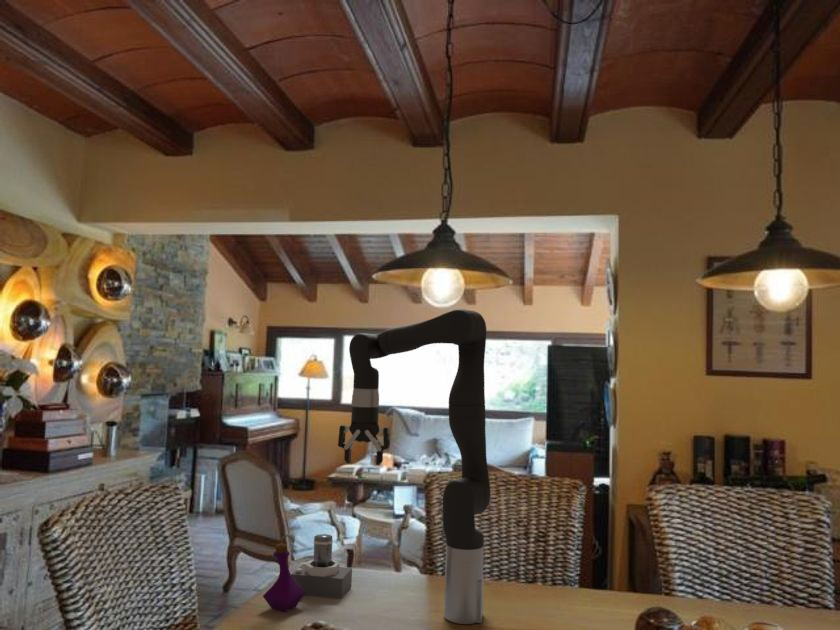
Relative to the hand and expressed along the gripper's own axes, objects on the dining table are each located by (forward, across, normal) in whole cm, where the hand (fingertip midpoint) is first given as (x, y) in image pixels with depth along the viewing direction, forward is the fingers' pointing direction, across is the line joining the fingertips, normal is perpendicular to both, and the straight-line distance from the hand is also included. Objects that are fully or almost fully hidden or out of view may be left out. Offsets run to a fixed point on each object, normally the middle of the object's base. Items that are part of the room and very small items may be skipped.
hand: (363, 463), depth 176 cm
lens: (+28, +9, +5) cm, 30 cm away
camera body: (+33, +9, +5) cm, 35 cm away
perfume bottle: (+33, +14, +19) cm, 41 cm away
